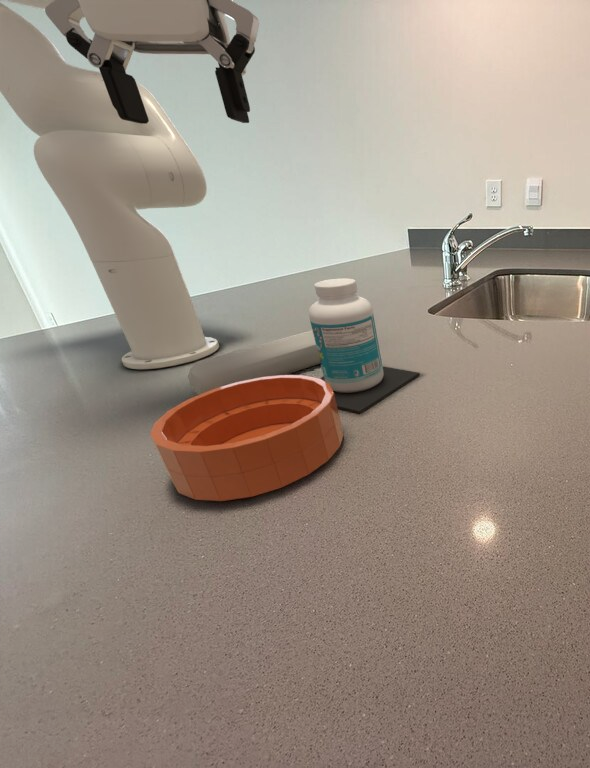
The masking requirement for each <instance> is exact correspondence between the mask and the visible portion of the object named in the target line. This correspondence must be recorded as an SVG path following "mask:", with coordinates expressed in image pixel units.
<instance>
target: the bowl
mask: <svg viewBox="0 0 590 768" xmlns="http://www.w3.org/2000/svg"><path fill="white" fill-rule="evenodd" d="M149 436H150V438H151V440H152V443H153V444H154V446H155V448H156V451H157V453H158V455H159V458H160V460H161V461H162V464H163V466H164V467H165V470H166V472H167V474H168V476H169V478H170V480H171V482H172V484H173V486H174V487H175V489H176V492H177V493H178V494H181V495H183V496H185V497H188V498H190V499H193V500H195V501H211V502H214V501H215V502H226V501H232V500H238V499H239V500H240V499H245V498H253V497H255V496H259V495H262V494H265V493H268V492H271V491H275V490H279V489H282V488H283V487H285V486H288V485H290V484H292V483H294V482H297V481H299V480H300V479H302V478H304V477H306V476H309V475H310V474H312V472H314V471H316V470H317V469H318V468H320V467H321V466H323V465H324V464H325V463H327V462H328V461H329V460H330V459H331V458H332V457H333V455H334V454H335V453H336V452H337V451H338V450H339V449H340V447H341V444H342V442H343V437H344V431H343V426H342V422H341V417H340V414H339V409H338V408H337V404H336V400H335V395H334V392H333V390H332V387H331V385H330V384H329V383H327V382H325V381H324V380H322V379H320V377H315V376H309V375H303V374H287V375H278V376H268V377H260V378H255V379H250V380H245V381H240V382H236V383H232V384H229V385H225V386H222V387H219V388H215V389H212V390H210V391H207V392H205V393H202V394H200V395H198V394H197V395H195V396H192V397H190V398H188V399H185V400H184V401H182V402H181V403H179V404H177V405H175V406H174V407H172V408H170V409H168V410H167V411H166V412H165V413H164V414H163V415H161V417H159V418H158V419H157V420H156V421H155V422H154V424H153V426H152V429H151V431H150V434H149Z"/></svg>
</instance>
